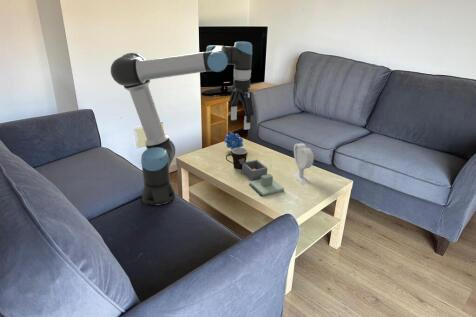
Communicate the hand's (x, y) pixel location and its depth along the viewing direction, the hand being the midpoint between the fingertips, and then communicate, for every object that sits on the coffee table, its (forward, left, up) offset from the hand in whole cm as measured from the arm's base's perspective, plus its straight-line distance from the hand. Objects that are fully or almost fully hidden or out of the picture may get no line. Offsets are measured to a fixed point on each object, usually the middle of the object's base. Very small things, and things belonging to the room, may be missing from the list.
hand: (240, 124), depth 160 cm
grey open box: (+12, +6, -33) cm, 35 cm away
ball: (+12, +6, -30) cm, 33 cm away
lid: (+11, -8, -32) cm, 35 cm away
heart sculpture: (+33, -7, -33) cm, 47 cm away
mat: (+11, -8, -33) cm, 35 cm away
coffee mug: (+8, +19, -33) cm, 39 cm away
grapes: (+16, +39, -33) cm, 53 cm away
